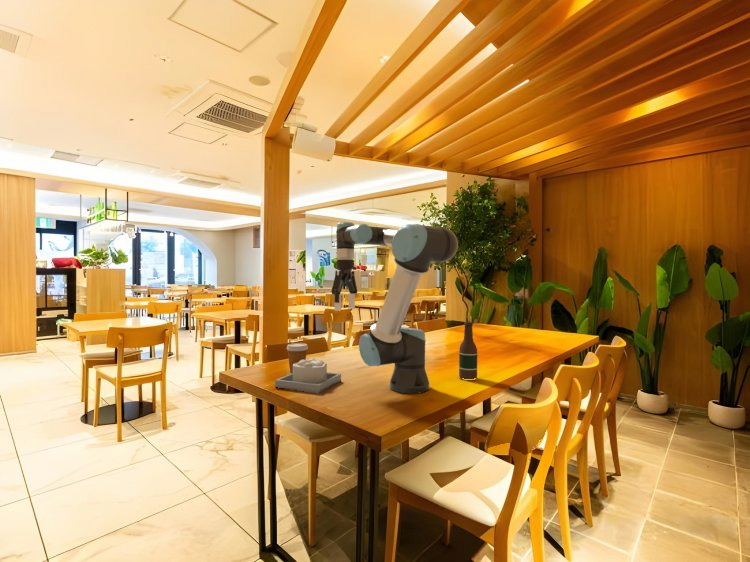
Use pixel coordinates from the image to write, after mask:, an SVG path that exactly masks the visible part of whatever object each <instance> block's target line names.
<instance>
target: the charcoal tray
mask: <svg viewBox="0 0 750 562" xmlns="http://www.w3.org/2000/svg"><path fill="white" fill-rule="evenodd" d="M340 382H342V374H341V373H336V372H334V373H333V372H327V380H326V381H324V382H322V383H320V384H310V383H302V382H294V381H293V373H292V372H290V374H288V375H285V376H282V377H279V378H276V379H275V381H274V388H275V387H279V388H285V389H284V390H287V389H291V390H290V391H294V390H297V392H302V391H304V392H303V393H311V394H321V393H323V392H325V391H326V390H329V389H330V388H332V387H333V386H335V385H337V384H339V383H340ZM279 388H278V389H279Z"/></svg>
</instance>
